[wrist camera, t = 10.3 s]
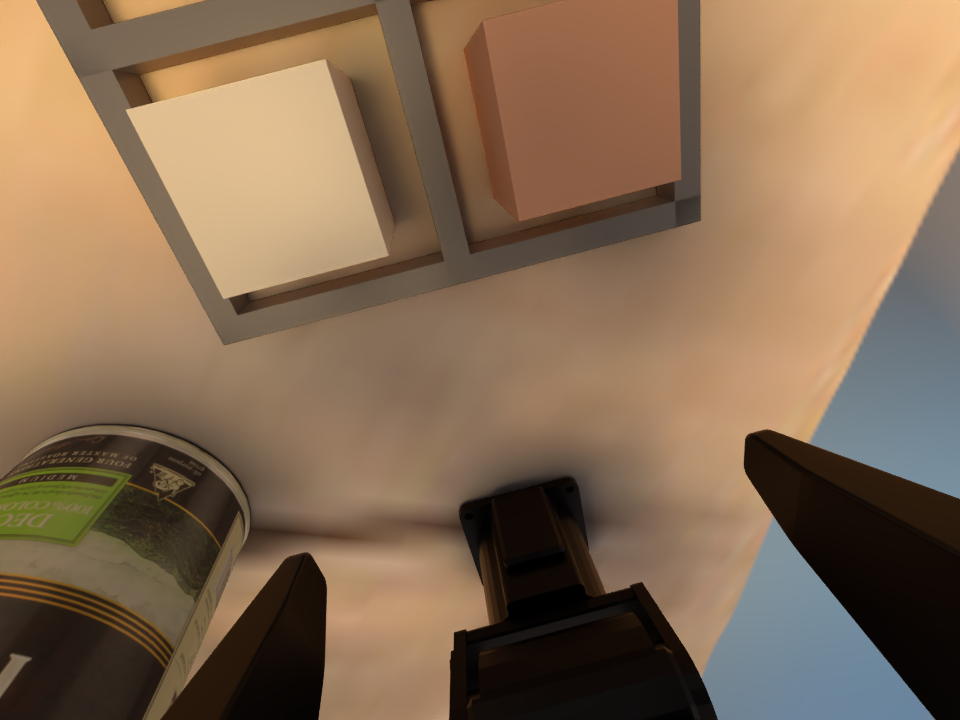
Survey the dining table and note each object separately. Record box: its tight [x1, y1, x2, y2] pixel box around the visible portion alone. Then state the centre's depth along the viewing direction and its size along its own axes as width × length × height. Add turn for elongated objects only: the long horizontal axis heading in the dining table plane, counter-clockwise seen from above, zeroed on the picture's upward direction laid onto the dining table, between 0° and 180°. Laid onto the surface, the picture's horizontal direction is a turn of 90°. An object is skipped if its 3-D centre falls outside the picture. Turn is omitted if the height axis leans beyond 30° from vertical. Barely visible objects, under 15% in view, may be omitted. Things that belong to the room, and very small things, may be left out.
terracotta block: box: [464, 0, 681, 222], centre depth 15 cm, size 5×5×5 cm
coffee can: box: [0, 425, 250, 720], centre depth 16 cm, size 10×10×14 cm
